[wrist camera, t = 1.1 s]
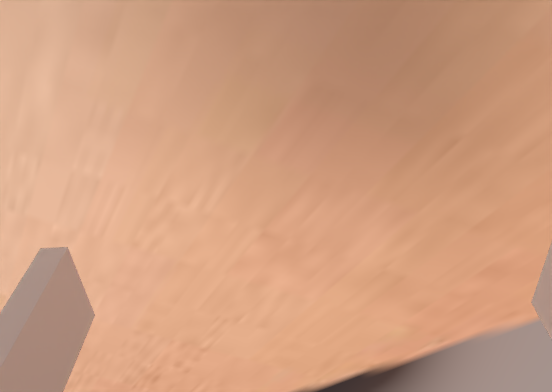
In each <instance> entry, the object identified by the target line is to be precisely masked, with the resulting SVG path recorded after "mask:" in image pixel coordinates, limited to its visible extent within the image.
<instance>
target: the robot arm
mask: <svg viewBox="0 0 552 392" xmlns="http://www.w3.org/2000/svg"><path fill="white" fill-rule="evenodd" d="M531 303H532V305H533V306H534V308H535V310H536V312H537V314H538V316H539V318H540V319H541V321H542V323H543V325H544V327H545V329H546V330H547V332H548V334H549V336H550V338H551V339H552V242H551V245H550V248H549V251H548V254H547V257H546V260H545V263H544V266H543V269H542V272H541V275H540V278H539V281H538V284H537V287H536V290H535V293H534V296H533V299H532V302H531ZM94 316H95V314H94V311H93V309H92V306H91V304H90V302H89V299H88V297H87V294H86V292H85V289H84V287H83V284H82V282H81V279H80V277H79V274H78V272H77V269H76V267H75V264H74V262H73V259H72V257H71V254H70V252H69V249H68V247H62V248H41V249H40V250H39V252H38V253H37V255H36V257H35V258H34V260H33V261H32V263H31V265H30V266H29V268H28V269H27V271H26V273H25V274H24V276H23V277H22V279H21V281H20V282H19V284H18V285H17V287H16V289H15V290H14V292H13V293H12V295H11V297H10V298H9V300H8V301H7V303H6V305H5V306H4V308H3V310H2V311H1V313H0V392H63V391H64V388H65V386H66V384H67V381H68V379H69V376H70V374H71V372H72V369H73V367H74V364H75V362H76V360H77V357H78V355H79V352H80V350H81V348H82V345H83V343H84V340H85V338H86V336H87V333H88V331H89V328H90V326H91V324H92V321H93V319H94Z"/></svg>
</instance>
